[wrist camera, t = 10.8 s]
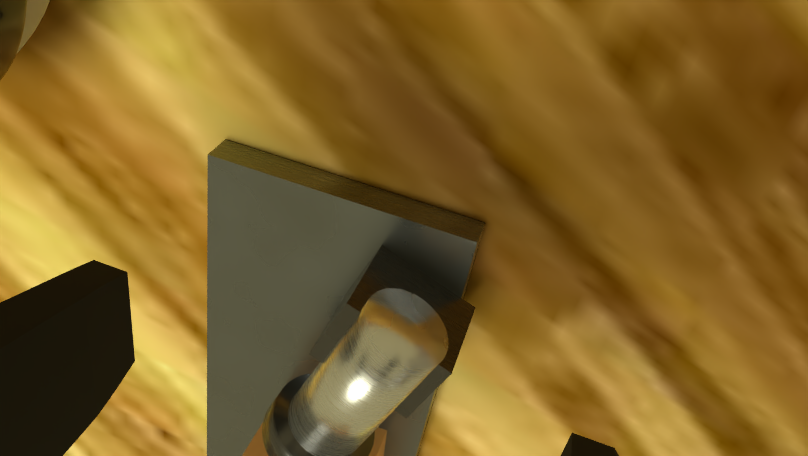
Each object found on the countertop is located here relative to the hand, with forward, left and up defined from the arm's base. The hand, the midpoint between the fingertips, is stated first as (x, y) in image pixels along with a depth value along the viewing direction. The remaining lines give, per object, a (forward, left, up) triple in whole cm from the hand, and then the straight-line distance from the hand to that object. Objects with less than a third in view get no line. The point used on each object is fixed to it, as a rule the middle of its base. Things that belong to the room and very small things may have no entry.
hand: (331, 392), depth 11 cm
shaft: (+1, +7, -9) cm, 12 cm away
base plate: (+3, +14, -9) cm, 17 cm away
